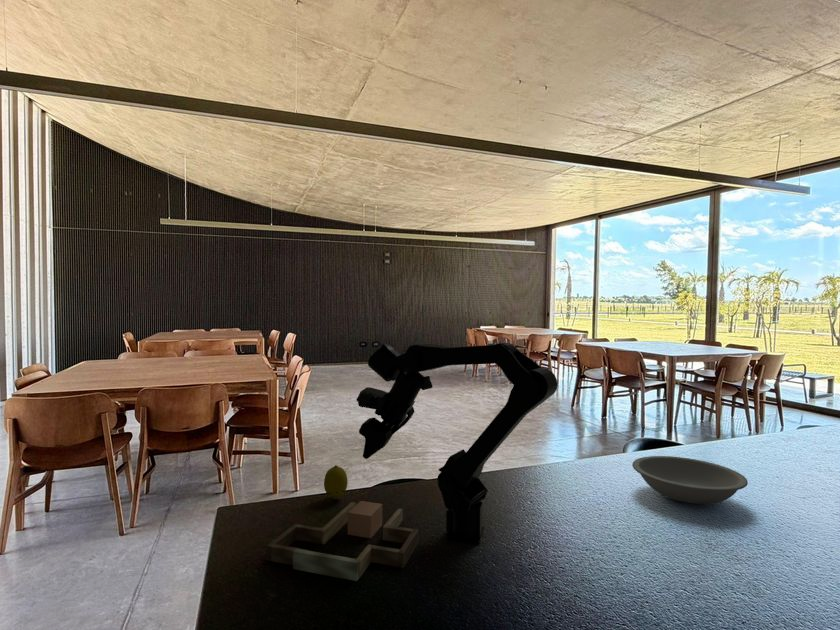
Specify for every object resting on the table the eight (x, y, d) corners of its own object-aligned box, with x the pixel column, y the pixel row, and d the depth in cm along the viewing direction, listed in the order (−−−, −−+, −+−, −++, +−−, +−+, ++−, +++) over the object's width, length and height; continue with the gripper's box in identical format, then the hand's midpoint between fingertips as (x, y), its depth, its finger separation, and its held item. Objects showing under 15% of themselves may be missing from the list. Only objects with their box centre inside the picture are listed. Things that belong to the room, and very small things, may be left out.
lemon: (342, 504, 103) (342, 470, 103) (319, 502, 104) (320, 468, 104) (350, 495, 108) (351, 462, 108) (329, 493, 109) (329, 461, 109)
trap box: (429, 524, 93) (429, 510, 93) (391, 587, 71) (391, 568, 71) (327, 509, 100) (327, 496, 100) (262, 563, 78) (263, 545, 78)
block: (382, 525, 93) (382, 503, 93) (370, 539, 87) (370, 515, 87) (360, 522, 94) (360, 500, 94) (347, 535, 88) (347, 512, 88)
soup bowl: (636, 508, 102) (636, 479, 102) (629, 475, 124) (629, 451, 124) (763, 527, 93) (763, 495, 93) (731, 487, 115) (731, 462, 115)
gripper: (388, 364, 108) (362, 415, 112) (354, 386, 90) (324, 446, 94) (427, 389, 105) (399, 440, 110) (399, 416, 88) (367, 476, 92)
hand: (373, 449), depth 102 cm, fingers open, 9 cm apart
